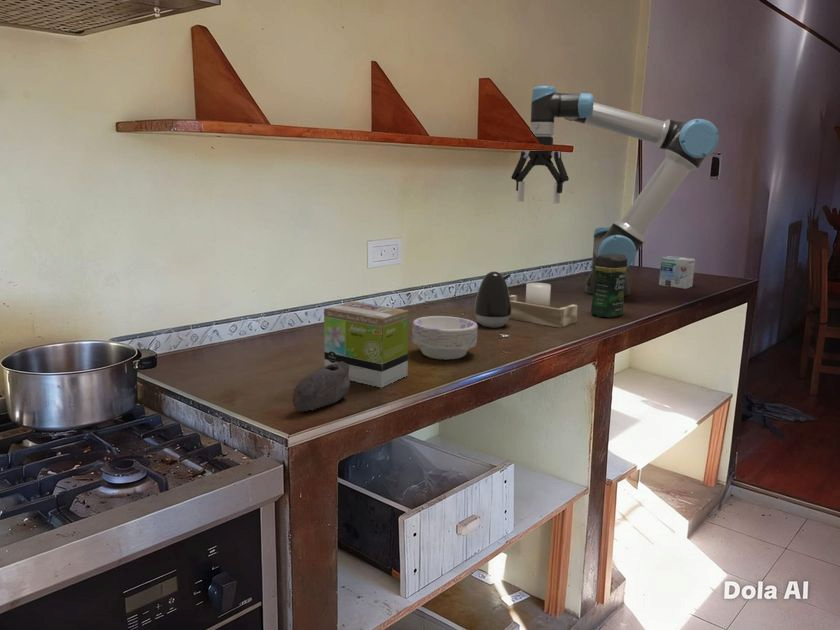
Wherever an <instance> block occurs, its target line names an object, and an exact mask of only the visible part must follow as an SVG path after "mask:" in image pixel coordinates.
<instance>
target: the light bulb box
mask: <svg viewBox="0 0 840 630" xmlns="http://www.w3.org/2000/svg"><path fill="white" fill-rule="evenodd" d="M695 262H696V259H695V258H691V257H683V256H682V257H681V256H670V255H667V256H662V257H661V260H660V271H659V281H658V286H664V287H669V286H670V287H671V288H678V289H684V290H685V289H689V288H692V287H693V282H694V274H695V264H696V263H695Z"/></svg>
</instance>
